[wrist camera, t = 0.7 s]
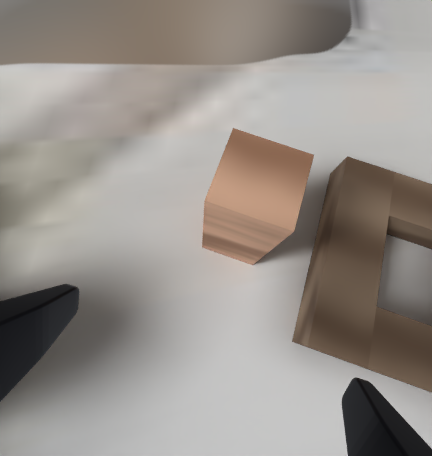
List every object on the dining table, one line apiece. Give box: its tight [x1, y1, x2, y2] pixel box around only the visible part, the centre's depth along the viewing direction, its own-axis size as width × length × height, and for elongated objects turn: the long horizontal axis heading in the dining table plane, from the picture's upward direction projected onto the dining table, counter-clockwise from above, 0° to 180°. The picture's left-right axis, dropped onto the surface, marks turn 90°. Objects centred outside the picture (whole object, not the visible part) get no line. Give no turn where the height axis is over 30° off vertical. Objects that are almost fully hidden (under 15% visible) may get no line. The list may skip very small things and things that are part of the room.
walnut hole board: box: [292, 157, 432, 392], centre depth 21 cm, size 16×16×3 cm
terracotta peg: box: [202, 128, 314, 265], centre depth 18 cm, size 5×5×10 cm
